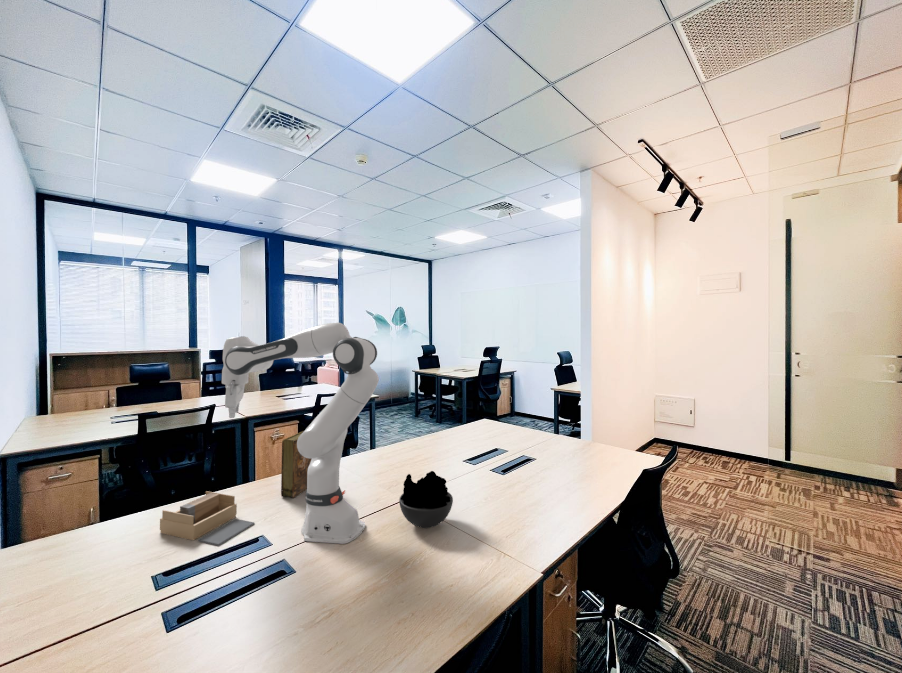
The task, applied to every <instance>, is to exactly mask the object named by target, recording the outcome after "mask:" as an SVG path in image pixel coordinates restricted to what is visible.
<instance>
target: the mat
mask: <svg viewBox="0 0 902 673" xmlns="http://www.w3.org/2000/svg"><path fill="white" fill-rule="evenodd" d="M254 525H255V522H254V521H248V520H243V519H238V518H233V519H231V520H229V521H228V522H226V523H224V524H222V525H220V526H219V527H217V528H215V529H213V530H211V531H210V532H208V533H206V534H204V535H202V536H200V537H199V538H197V542H200V543H204V544H208V545H214V546H218V547H220V546H221V545H222V544H224V543H226V542H228V541H229V540H231V539H232V538H234V537H235V536H238V534H241V533H242V532H244V531H246V530H248V529H249V528H251V527H252V526H254Z"/></svg>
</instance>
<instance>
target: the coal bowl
mask: <svg viewBox="0 0 902 673" xmlns="http://www.w3.org/2000/svg"><path fill="white" fill-rule="evenodd" d="M446 485H447V480H446V478H443V477H442V476H439V475H437V473H436V472H435V470H431V471H429V472H426V475H425V476H424V477H421V478H420V479H417V481H416V482H414V481H413V480H412V474H410V473H408V474H407V475H406V477H405V480H404V482H403V489H402V490H403V491H402V492H403V493H402V494H401V495H400V496H399V501H398V502H399V507H400V510H401V513H402V514H403V517H404V518H405V519H406V520H407V521H408V522H409V523H410V524H411V525H413V526H415V527H418V528H422V529H428V528H434V527H436V526H439V525H440V524H441V523H443V522H444V521H445V520H446V518H447V517H448V516H449V514H450V511H451V510H452V507H453V503H454V502H453V501H454V498H453V495H452V494H451V493H450V492H448V490H449V489H448V487H447V486H446Z"/></svg>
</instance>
